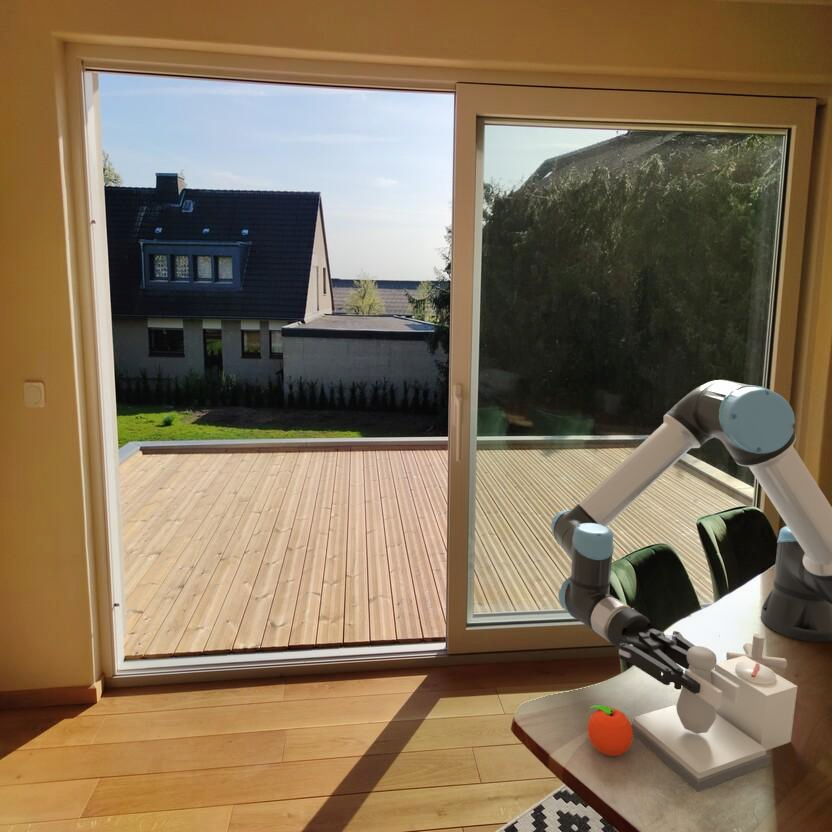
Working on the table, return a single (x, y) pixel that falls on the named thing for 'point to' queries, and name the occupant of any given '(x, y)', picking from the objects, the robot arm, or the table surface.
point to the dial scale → (725, 728)
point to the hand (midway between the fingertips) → (728, 697)
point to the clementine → (609, 731)
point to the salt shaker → (691, 706)
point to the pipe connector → (759, 654)
